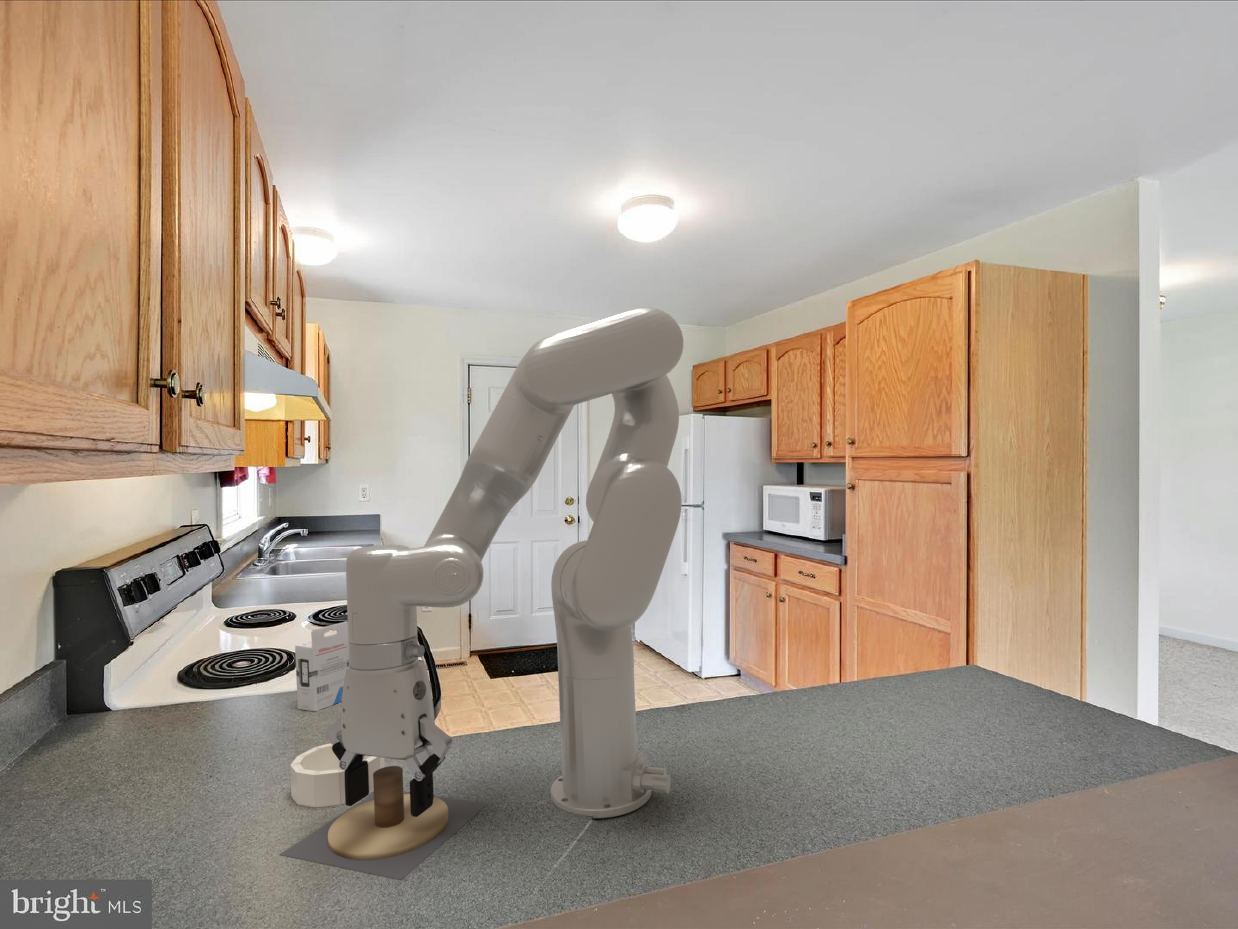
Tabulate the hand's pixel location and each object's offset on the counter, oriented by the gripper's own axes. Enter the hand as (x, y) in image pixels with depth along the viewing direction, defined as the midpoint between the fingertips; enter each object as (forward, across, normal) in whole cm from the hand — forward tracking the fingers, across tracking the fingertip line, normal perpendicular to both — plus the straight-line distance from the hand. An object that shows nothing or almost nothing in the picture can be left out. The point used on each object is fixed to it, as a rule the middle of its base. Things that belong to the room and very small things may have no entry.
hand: (389, 805), depth 76 cm
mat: (+3, 0, 0) cm, 3 cm away
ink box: (+3, +44, -35) cm, 56 cm away
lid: (+3, 0, 0) cm, 3 cm away
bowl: (+3, +14, -7) cm, 16 cm away
